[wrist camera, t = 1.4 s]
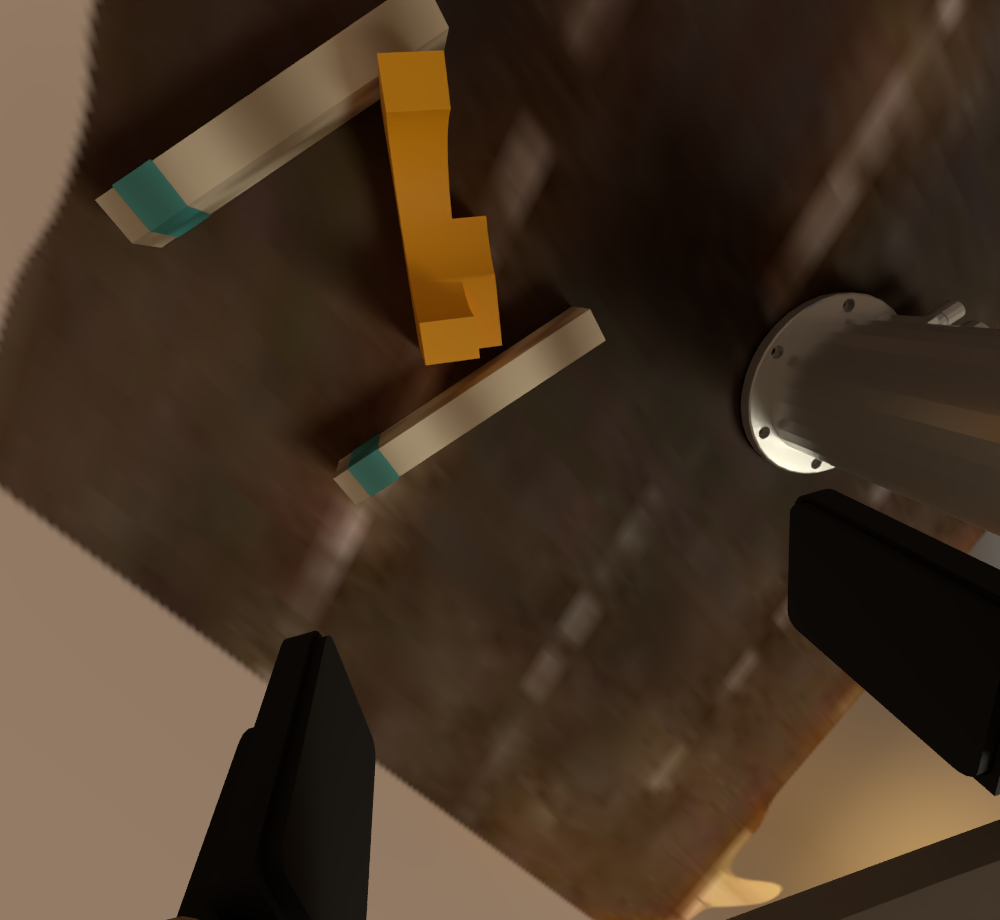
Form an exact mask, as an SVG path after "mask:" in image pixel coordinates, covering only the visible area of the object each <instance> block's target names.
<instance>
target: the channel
mask: <svg viewBox="0 0 1000 920" xmlns="http://www.w3.org/2000/svg"><path fill="white" fill-rule="evenodd" d="M448 29H449V27H448V25H447V23H446V21H445V19H444V17H443V15H442V13H441V11H440V9H439V7H438V5H437V3H436V1H435V0H387V1H385V2H384V3H382V4H381V5H379V6H378V7H376V8H375V9H373V10H372V11H371V12H369V13H368V14H366V15H365V16H363V17H362V18H360V19H359V20H357V21H356V22H354V23H353V24H352V25H350V26H349V27H347V28H346V29H344V30H343V31H341V32H340V33H338V34H337V35H335V36H334V37H333V38H331V39H330V40H328V41H327V42H325V43H324V44H322V45H321V46H319V47H318V48H316V49H315V50H314V51H312V52H311V53H309V54H308V55H306V56H305V57H303V58H302V59H300V60H299V61H297V62H296V63H295V64H293V65H292V66H290V67H289V68H287V69H286V70H284V71H283V72H281V73H280V74H278V75H277V76H276V77H274V78H273V79H271V80H270V81H268V82H267V83H265V84H264V85H262V86H261V87H259V88H258V89H257V90H255V91H254V92H252V93H251V94H249V95H248V96H246V97H245V98H243V99H242V100H240V101H239V102H238V103H236V104H235V105H233V106H232V107H230V108H229V109H227V110H226V111H224V112H223V113H221V114H220V115H218V116H217V117H216V118H214V119H213V120H211V121H210V122H208V123H207V124H205V125H204V126H202V127H201V128H199V129H198V130H197V131H195V132H194V133H192V134H191V135H189V136H188V137H186V138H185V139H183V140H182V141H180V142H179V143H178V144H176V145H175V146H173V147H172V148H170V149H169V150H167V151H166V152H164V153H163V154H161V155H160V156H159V157H157V158H156V159H154V160H151V159H150V160H148V161H147V162H145V163H144V164H142V165H141V166H139V167H138V168H137V169H135V170H134V171H132V172H131V173H129V174H128V175H126V176H125V177H123V178H122V179H120V180H119V181H118V182H116V183H115V184H113V185H112V186H113V188H112V189H110V190H109V191H107V192H106V193H104V194H103V195H102V196H100V197H99V198H97V199H96V202H97V203H98V204H99V205H100V206H101V207H102V209H103V210H104V211H105V212H106V213H107V214H108V216H109V217H110V218H111V219H112V220H113V221H114V223H115V224H116V225H117V226H118V227H119V229H120V230H121V231H122V232H123V233H124V234H125V236H126V237H127V238H128V239H129V240H130V241H131V243H134V244H140V245H147V246H154V247H161V248H162V247H163V246H164V245H166V244H167V243H169V242H170V241H172V240H173V239H175V238H176V237H180V236H181V235H183V234H184V233H186V232H187V231H189V230H190V229H192V228H193V227H195V226H196V225H198V224H199V223H200V222H202V221H203V220H205V219H206V218H208V217H209V216H211V214H212V213H213V212H215V211H216V210H217V209H219V208H220V207H222V206H223V205H225V204H226V203H228V202H229V201H231V200H232V199H234V198H235V197H237V196H238V195H240V194H241V193H243V192H244V191H245V190H247V189H248V188H250V187H251V186H253V185H254V184H256V183H257V182H259V181H260V180H262V179H263V178H265V177H266V176H268V175H269V174H270V173H272V172H273V171H275V170H276V169H278V168H279V167H281V166H282V165H284V164H285V163H287V162H288V161H290V160H291V159H293V158H294V157H296V156H297V155H298V154H300V153H301V152H303V151H304V150H306V149H307V148H309V147H310V146H312V145H313V144H315V143H316V142H318V141H319V140H321V139H322V138H323V137H325V136H326V135H328V134H329V133H331V132H332V131H334V130H335V129H337V128H338V127H340V126H341V125H343V124H344V123H346V122H347V121H349V120H350V119H351V118H353V117H354V116H356V115H357V114H359V113H360V112H362V111H363V110H365V109H366V108H368V107H369V106H371V105H372V104H374V103H375V102H376V101H378V100H379V99H380V88H379V75H378V61H377V53H391V52H415V51H439V50H444V48H445V44H446V39H447V34H448ZM604 341H605V338H604V336H603V334H602V332H601V330H600V328H599V326H598V324H597V322H596V320H595V318H594V316H593V314H592V312H591V310H590V309H587V308H579V307H570V308H569V309H567V310H566V311H564V312H563V313H561V314H560V315H558V316H557V317H555V318H554V319H552V320H551V321H549V322H548V323H546V324H545V325H543V326H542V327H540V328H539V329H537V330H536V331H534V332H533V333H531V334H530V335H528V336H527V337H525V338H524V339H522V340H521V341H519V342H518V343H516V344H515V345H513V346H512V347H510V348H509V349H507V350H506V351H504V352H503V353H501V354H500V355H498V356H497V357H495V358H494V359H492V360H490V361H489V362H487V363H486V364H484V365H483V366H481V367H480V368H478V369H477V370H475V371H474V372H472V373H471V374H469V375H468V376H466V377H465V378H463V379H462V380H460V381H459V382H457V383H456V384H454V385H453V386H451V387H450V388H448V389H447V390H445V391H444V392H442V393H441V394H439V395H438V396H436V397H435V398H433V399H432V400H430V401H429V402H427V403H426V404H424V405H423V406H421V407H420V408H418V409H417V410H415V411H414V412H412V413H411V414H409V415H408V416H406V417H405V418H403V419H401V420H400V421H398V422H397V423H395V424H394V425H392V426H391V427H389V428H388V429H386V430H385V431H383V432H382V433H379V434H377V435H376V436H374V437H373V438H371V439H370V440H368V441H367V442H365V443H364V444H362V445H361V446H359V447H358V448H356V449H355V450H353V451H352V453H350V454H349V455H347V456H346V457H344V458H343V459H341V460H340V461H339V463H338V466H337V469H336V472H335V476H334V480H335V481H336V482H337V484H338V485H339V486H340V487H341V488H342V489H343V491H344V492H345V493H346V494H347V495H348V496H349V498H350V499H351V500H352V501H353V502H354V503H355V505H357V504H358V503H360V502H361V501H363V500H365V499H366V498H368V497H369V496H371V497H372V496H373V495H375V494H376V493H378V492H379V491H381V490H382V489H384V488H385V487H387V486H388V485H390V484H391V483H393V482H394V481H396V480H397V479H399V478H400V476H401V475H402V474H404V473H405V472H407V471H408V470H410V469H411V468H413V467H415V466H416V465H418V464H419V463H421V462H422V461H424V460H425V459H427V458H428V457H430V456H431V455H433V454H434V453H436V452H437V451H439V450H440V449H442V448H443V447H445V446H446V445H448V444H449V443H451V442H452V441H454V440H455V439H457V438H458V437H460V436H461V435H463V434H465V433H466V432H468V431H469V430H471V429H472V428H474V427H475V426H477V425H478V424H480V423H481V422H483V421H484V420H486V419H487V418H489V417H490V416H492V415H493V414H495V413H496V412H498V411H499V410H501V409H502V408H504V407H505V406H507V405H508V404H510V403H511V402H513V401H514V400H516V399H518V398H519V397H521V396H522V395H524V394H525V393H527V392H528V391H530V390H531V389H533V388H534V387H536V386H537V385H539V384H540V383H542V382H543V381H545V380H546V379H548V378H549V377H551V376H552V375H554V374H555V373H557V372H558V371H560V370H561V369H563V368H564V367H566V366H568V365H569V364H571V363H572V362H574V361H575V360H577V359H578V358H580V357H581V356H583V355H584V354H586V353H587V352H589V351H590V350H592V349H593V348H595V347H596V346H598V345H599V344H601V343H602V342H604Z"/></svg>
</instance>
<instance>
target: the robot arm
mask: <svg viewBox="0 0 1000 920" xmlns="http://www.w3.org/2000/svg"><path fill="white" fill-rule="evenodd" d="M964 315H965V308H964V306H963V305H962V304H961V303H960V302H958V301H955V300H949V301H946V302H945V303H943V304H942V305H940V306H939V307H937V308H936V309H934V310H932V311H931V312H930V313H929V314H928V315H927V316H925V317H922V316H906V315H897V314H896V312H895V311H894V309H893V308H891V307H890V306H889V305H888V304H886V303H885V302H884V301H883V300H881V299H878V298H876V297H874V296H871V295H868V294H861V293H854V292H844V293H831V294H827V295H822V296H819V297H816V298H814V299H812V300H809V301H807V302H805V303H803V304H801V305H800V306H798V307H797V308H795V309H794V310H792V311H791V312H789V313H788V314H787V315H786V316H785V317H783V318H782V319H781V320H780V321H779V322H778V323H777V324H776V325H775V326H774V327H773V328H772V329H771V331H770V332H769V333H768V334H767V336H766V337H765V338H764V339H763V341H762V342H761V344H760V346H759V347H758V349H757V351H756V353H755V354H754V356H753V358H752V360H751V363H750V365H749V368H748V370H747V373H746V376H745V380H744V384H743V389H742V396H741V415H742V423H743V427H744V430H745V433H746V436H747V439H748V440H749V442H750V443H751V445H752V447H753V448H754V450H755V451H756V452H757V453H758V454H759V455H760V456H761V457H762V458H763V459H765V460H766V461H768V462H770V463H772V464H773V465H775V466H777V467H780V468H782V469H785V470H787V471H789V472H796V473H802V474H805V473H818V472H822V471H826V470H829V469H832V468H835V467H836V468H838V469H841V470H843V471H846V472H848V473H850V474H853V475H855V476H858V477H860V478H862V479H865V480H867V481H869V482H872V483H874V484H877V485H879V486H881V487H884V488H886V489H889V490H891V491H893V492H896V493H898V494H900V495H903V496H905V497H908V498H910V499H912V500H915V501H917V502H919V503H922V504H924V505H927V506H929V507H931V508H934V509H936V510H939V511H941V512H943V513H946V514H948V515H950V516H953V517H955V518H958V519H960V520H962V521H965V522H967V523H970V524H972V525H974V526H977V527H979V528H981V529H984V530H986V531H989V532H991V533H993V534H996V535H998V536H1000V329H995V328H988V326H986V325H985V324H983V323H982V322H979V321H975V320H970V321H966V322H964V323H963V324H961V325H960V326H956V325H951V324H952V323H954V322H955V321H957V320H958V319H960V318H961V317H963V316H964ZM788 616H789V619H790V621H791V623H792V624H793V626H794V627H795V628H796V629H797V630H798V631H799V632H800V633H801V634H802V635H803V636H805V637H806V638H807V639H808V640H809V641H810V642H811V643H812V644H814V645H815V646H816V647H817V648H818V649H819V650H820V651H822V652H823V653H824V654H825V655H826V656H827V657H828V658H830V659H831V660H832V661H833V662H834V663H835V664H836V665H837V666H839V667H840V668H841V669H842V670H843V671H844V672H845V673H847V674H848V675H849V676H850V677H851V678H852V679H853V680H854V681H856V682H857V683H858V684H859V685H860V686H861V687H862V688H864V689H865V690H866V691H867V692H868V693H869V694H870V695H872V696H873V697H874V698H875V699H876V700H877V701H878V702H879V703H881V704H882V705H883V706H884V707H885V708H886V709H887V710H889V711H890V712H891V713H892V714H893V715H894V716H895V717H896V718H898V719H899V720H900V721H901V722H902V723H903V724H904V725H906V726H907V727H908V728H909V729H910V730H911V731H912V732H913V733H915V734H916V735H917V736H918V737H919V738H920V739H921V740H923V741H924V742H925V743H926V744H927V745H928V746H930V747H931V748H932V749H933V750H934V751H935V752H936V753H937V754H938V755H940V756H941V757H942V758H943V759H944V760H945V761H946V762H948V763H949V764H950V765H951V766H952V767H953V768H955V769H956V770H957V771H959V772H960V773H962V774H964V775H966V776H970V777H973V778H974V779H976V780H977V781H978V782H979V783H980V784H982V785H983V786H984V787H985V788H986V789H987V790H988V791H989V792H991V793H992V794H993V795H994V796H996V795H999V794H1000V570H999V569H997V568H995V567H993V566H991V565H989V564H987V563H984V562H982V561H980V560H978V559H976V558H974V557H972V556H970V555H968V554H966V553H964V552H962V551H960V550H958V549H955V548H953V547H951V546H949V545H947V544H945V543H943V542H941V541H939V540H937V539H935V538H933V537H930V536H928V535H926V534H924V533H922V532H920V531H918V530H916V529H914V528H912V527H910V526H908V525H906V524H903V523H901V522H899V521H897V520H895V519H893V518H891V517H889V516H887V515H885V514H883V513H881V512H879V511H876V510H874V509H872V508H870V507H868V506H866V505H864V504H862V503H860V502H858V501H856V500H854V499H852V498H849V497H847V496H845V495H843V494H841V493H839V492H837V491H835V490H832V489H824V490H820V491H817V492H813V493H810V494H806V495H802V496H800V497H799V498H798V499H797V500H796V502H795V505H794V506H793V507H792V508H791V511H790V535H789V573H788ZM374 776H375V747H374V742H373V738H372V735H371V733H370V730H369V728H368V725H367V723H366V720H365V718H364V715H363V713H362V710H361V708H360V706H359V703H358V701H357V698H356V696H355V693H354V691H353V688H352V686H351V683H350V681H349V678H348V676H347V673H346V671H345V668H344V666H343V663H342V661H341V658H340V656H339V653H338V651H337V649H336V646H335V644H334V641H333V639H332V638H331V636H325V637H322V636H321V634H320V633H319V632H318V631H313V632H309V633H305V634H302V635H298V636H295V637H291V638H287V639H285V640H284V641H283V643H282V645H281V648H280V651H279V654H278V657H277V660H276V663H275V666H274V669H273V672H272V675H271V678H270V681H269V684H268V687H267V690H266V693H265V696H264V699H263V702H262V705H261V708H260V711H259V714H258V717H257V720H256V723H255V726H254V727H253V728H250V729H248V730H247V731H246V732H245V733H244V734H243V735H242V737H241V739H240V741H239V744H238V746H237V749H236V752H235V755H234V758H233V760H232V763H231V766H230V769H229V772H228V774H227V777H226V780H225V783H224V786H223V788H222V791H221V794H220V797H219V800H218V803H217V805H216V808H215V811H214V814H213V816H212V819H211V822H210V825H209V828H208V830H207V834H206V836H205V839H204V842H203V845H202V847H201V850H200V853H199V856H198V859H197V862H196V864H195V867H194V870H193V873H192V875H191V878H190V881H189V884H188V887H187V889H186V892H185V895H184V898H183V901H182V903H181V906H180V909H179V912H178V915H177V917H176V918H172V919H168V920H366V914H367V897H368V896H367V895H368V879H369V862H370V845H371V828H372V810H373V809H372V808H373V793H374ZM727 920H1000V820H997V821H994V822H992V823H989V824H986V825H983V826H981V827H978V828H975V829H972V830H970V831H967V832H964V833H961V834H959V835H956V836H953V837H950V838H948V839H945V840H942V841H939V842H936V843H934V844H931V845H928V846H925V847H922V848H920V849H917V850H914V851H912V852H909V853H906V854H904V855H901V856H898V857H895V858H893V859H890V860H887V861H884V862H882V863H879V864H877V865H873V866H871V867H868V868H865V869H863V870H860V871H857V872H855V873H852V874H849V875H846V876H844V877H841V878H838V879H835V880H833V881H830V882H827V883H824V884H822V885H819V886H816V887H814V888H811V889H808V890H805V891H803V892H800V893H797V894H795V895H792V896H789V897H786V898H784V899H781V900H778V901H776V902H773V903H770V904H768V905H765V906H762V907H759V908H757V909H754V910H751V911H749V912H746V913H743V914H740V915H738V916H736V917H732V918H730V919H727Z"/></svg>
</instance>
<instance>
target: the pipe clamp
mask: <svg viewBox="0 0 1000 920" xmlns="http://www.w3.org/2000/svg"><path fill="white" fill-rule="evenodd" d="M377 61H378V75H379V88H380V101H381V110H382V117H383V123H384V129H385V136H386V142H387V148H388V154H389V161H390V167H391V173H392V179H393V186H394V192H395V198H396V205H397V211H398V217H399V223H400V230H401V236H402V242H403V248H404V255H405V261H406V267H407V274H408V280H409V286H410V292H411V299H412V305H413V311H414V317H415V324H416V330H417V336H418V342H419V349H420V351H421V354H422V357H423V359H424V362H425V365H433V364H440V363H448V362H455V361H462V360H469V359H477V358H480V354H479V348H486V347H494V346H501V345H502V339H501V329H500V319H499V309H498V299H497V289H496V280H495V273H494V269H493V264H492V258H491V252H490V246H489V238H488V230H487V220H486V216H478V217H467V218H456V219H452V213H451V203H450V191H449V176H448V121H449V114H450V110H451V107H450V99H449V90H448V82H447V73H446V65H445V56H444V50H439V51H415V52H391V53H377Z"/></svg>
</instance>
